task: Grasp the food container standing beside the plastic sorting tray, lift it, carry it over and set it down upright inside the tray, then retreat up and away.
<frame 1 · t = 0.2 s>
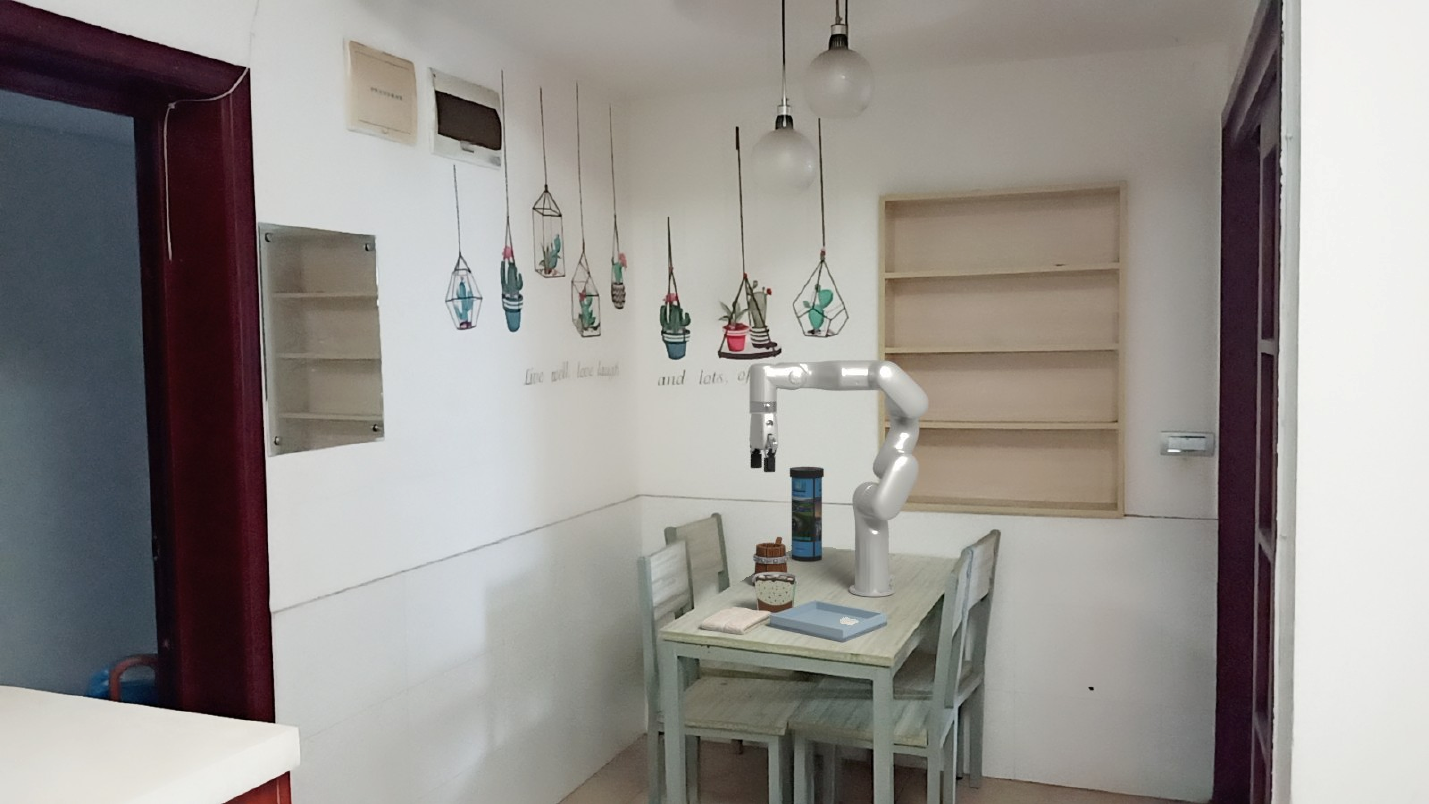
hand: (762, 470, 292), 36 cm above the table, tool pointing down, fingers open, 9 cm apart
mug: (772, 584, 316), on the table
washcloth: (737, 626, 270), on the table
sorting tray: (828, 626, 268), on the table
food container: (777, 611, 283), on the table
advertising column: (806, 559, 351), on the table
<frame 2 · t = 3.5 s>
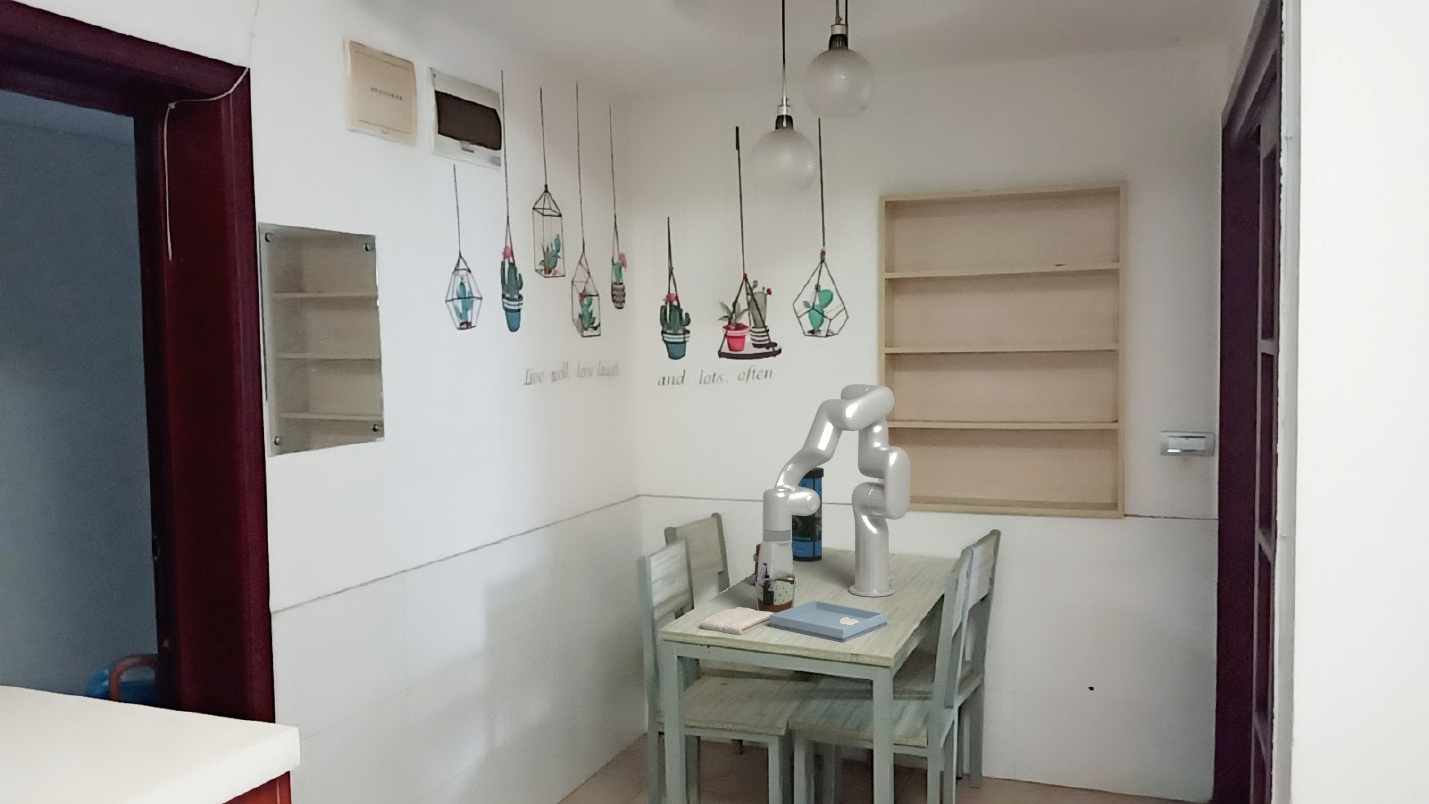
hand: (776, 602, 282), 2 cm above the table, tool pointing down, fingers closed on food container, 6 cm apart
food container: (778, 611, 283), on the table, touching gripper
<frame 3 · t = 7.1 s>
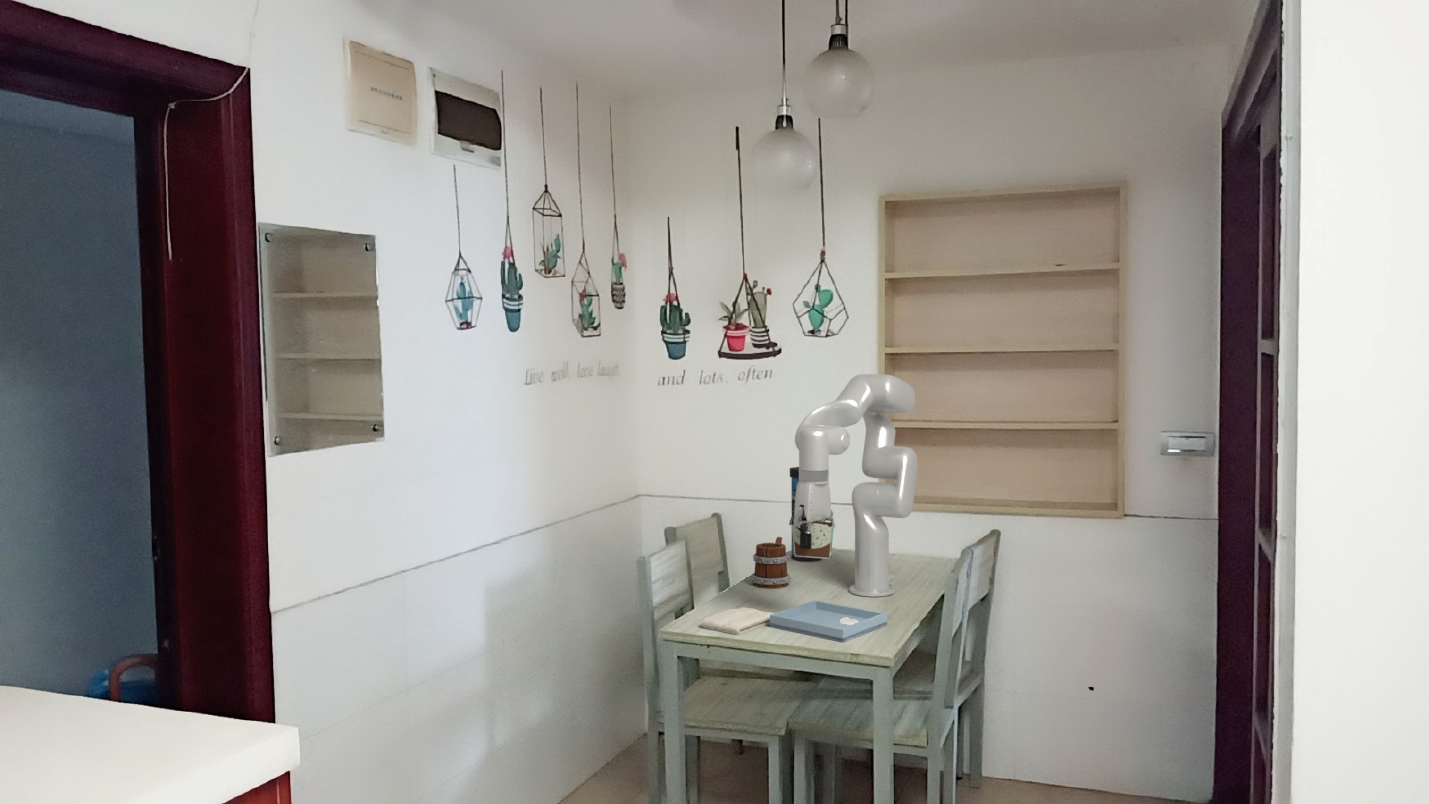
hand: (813, 546, 271), 20 cm above the table, tool pointing down, fingers closed on food container, 6 cm apart
food container: (815, 556, 271), point 17 cm above the table, touching gripper
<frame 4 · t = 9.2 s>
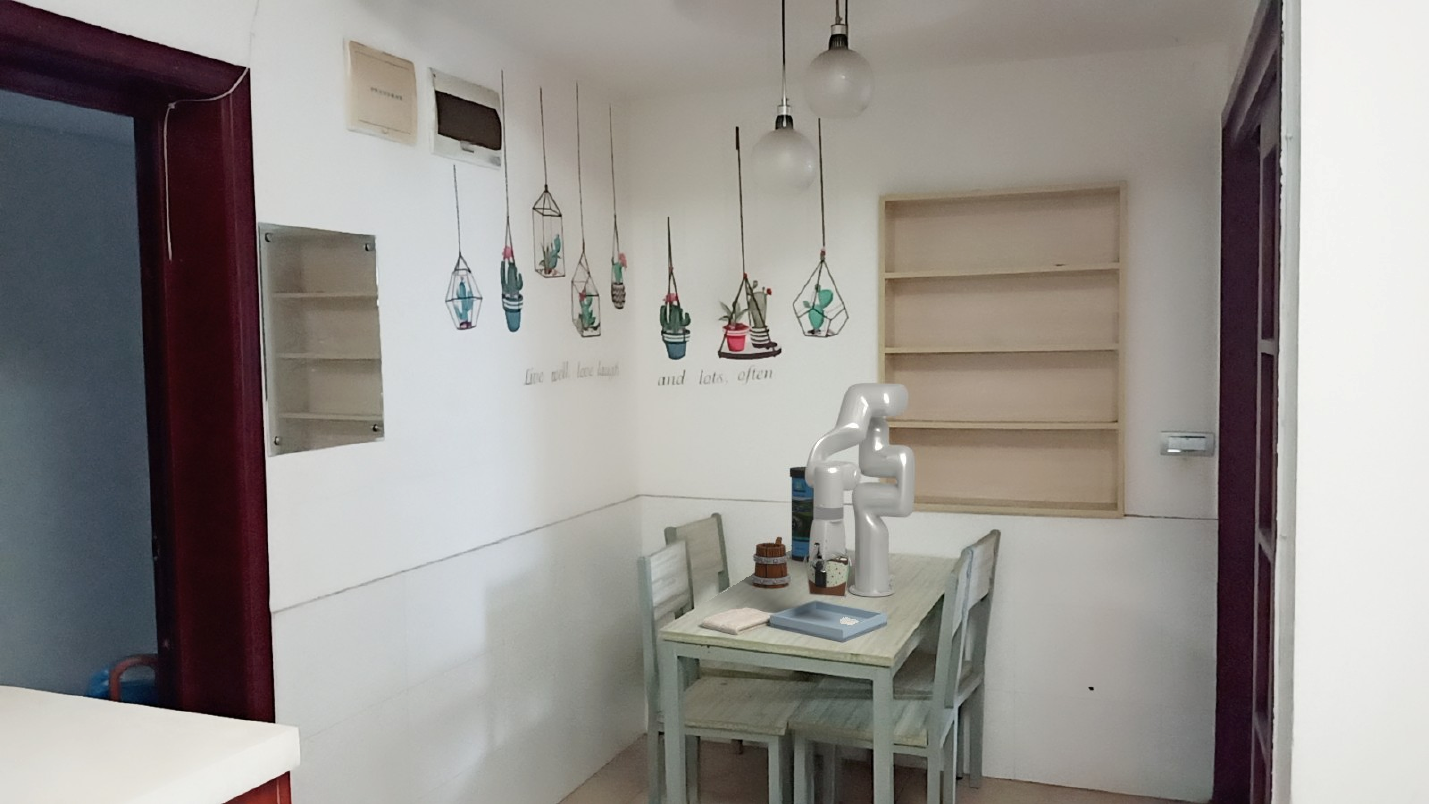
hand: (828, 584, 267), 11 cm above the table, tool pointing down, fingers closed on food container, 6 cm apart
food container: (830, 594, 268), point 8 cm above the table, touching gripper
when the fingers open (5 cm above the table, at t = 10.8 s): food container drops 1 cm, resting on sorting tray.
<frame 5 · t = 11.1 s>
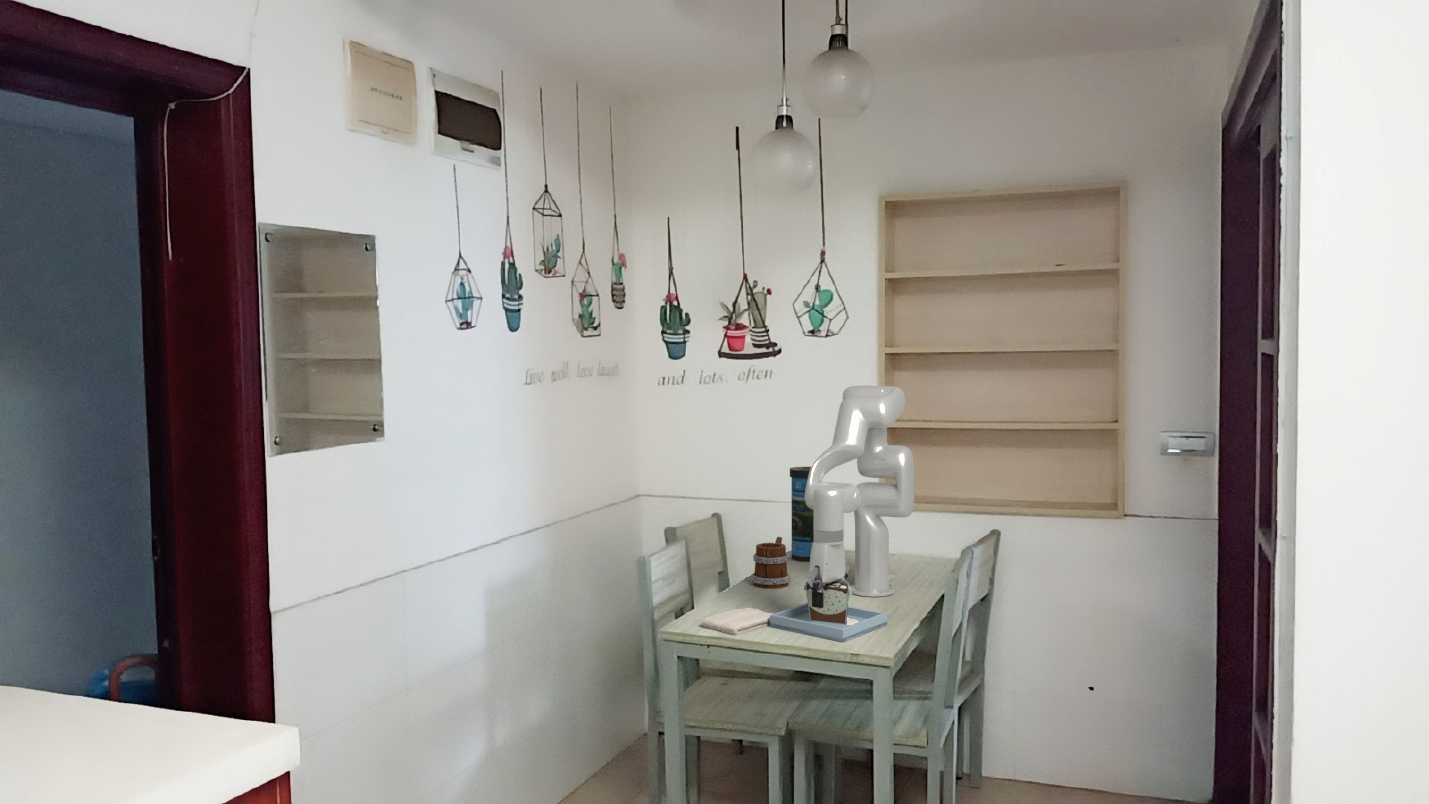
hand: (828, 603, 267), 6 cm above the table, tool pointing down, fingers open, 9 cm apart
food container: (831, 619, 269), point 1 cm above the table, touching sorting tray
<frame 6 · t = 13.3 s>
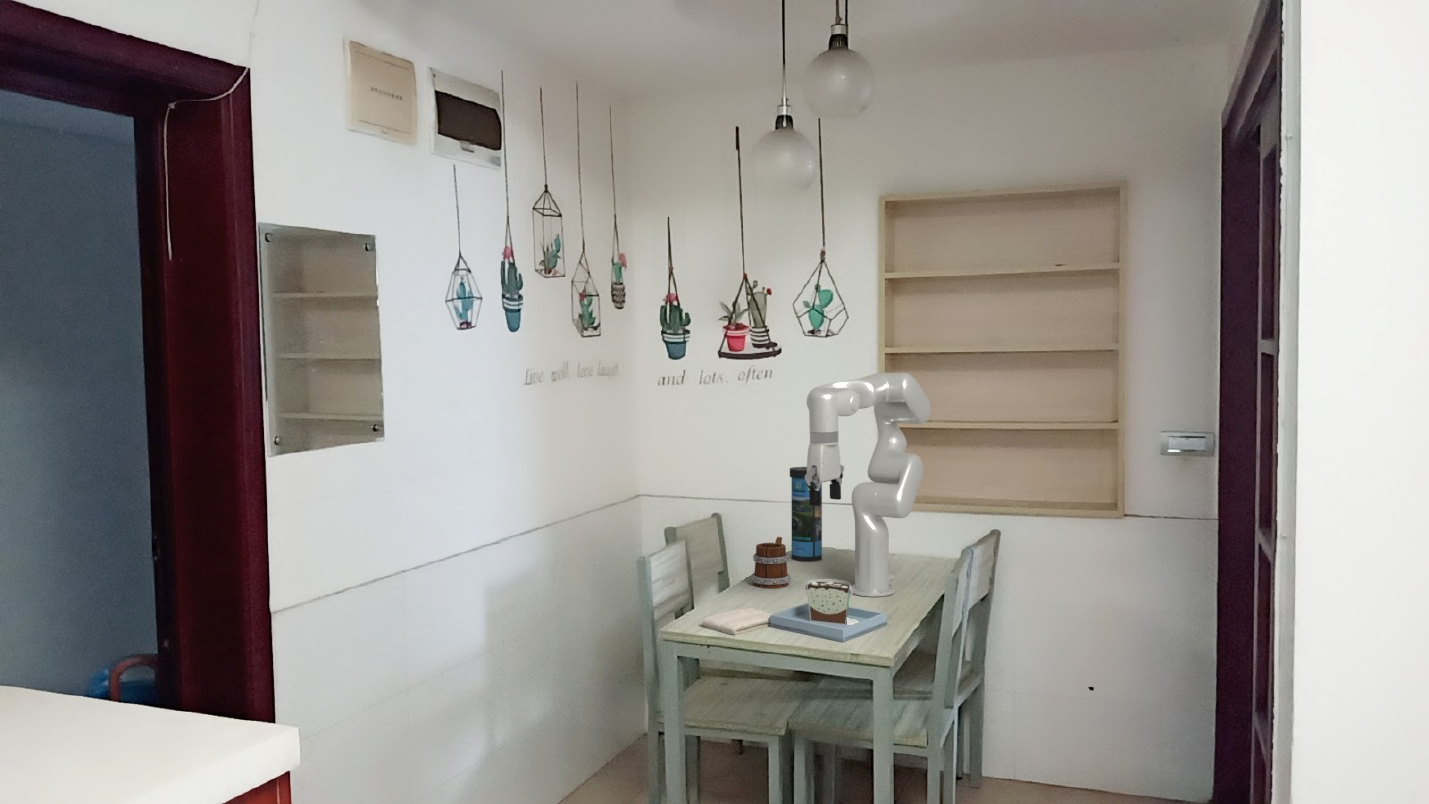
hand: (825, 502, 280), 29 cm above the table, tool pointing down, fingers open, 9 cm apart
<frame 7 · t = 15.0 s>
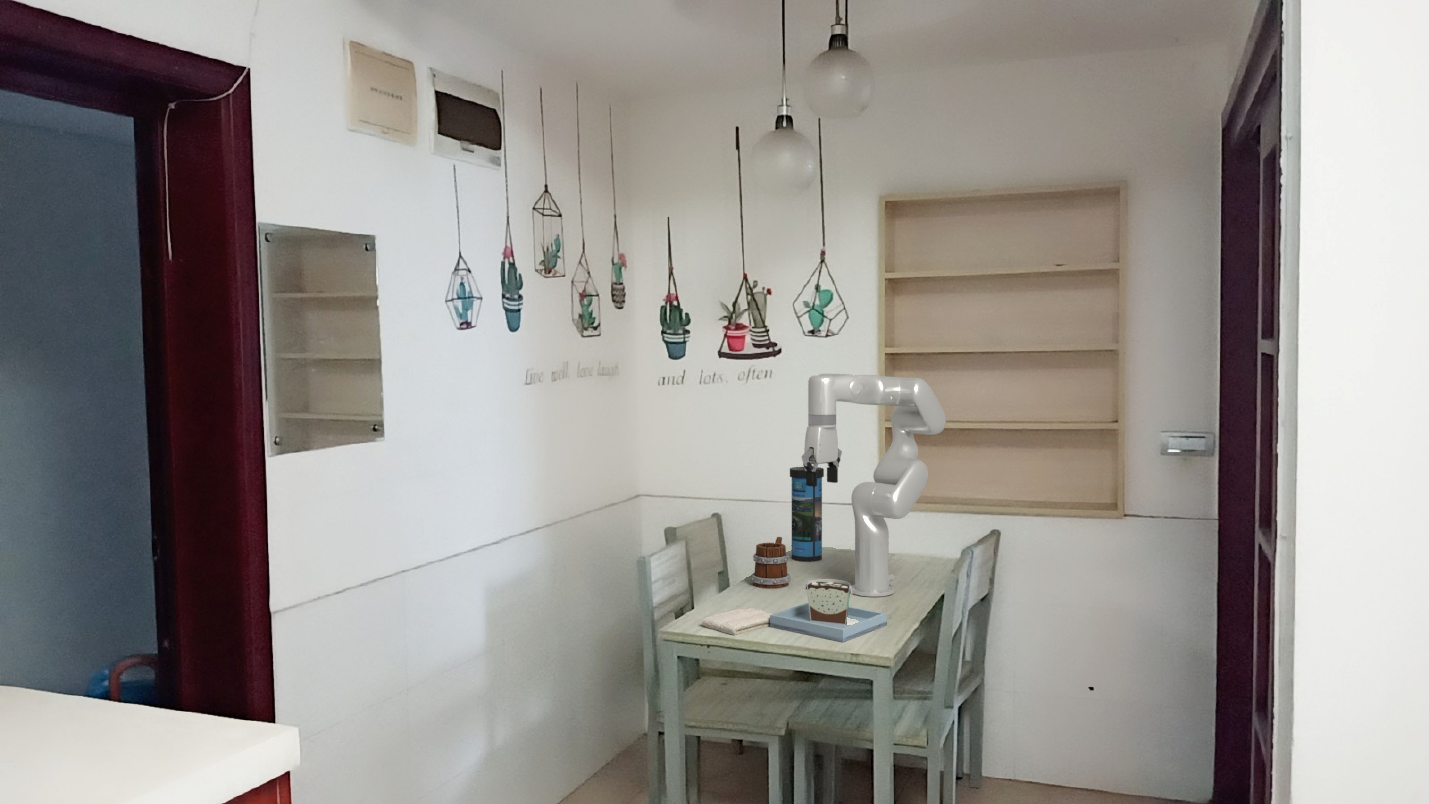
hand: (822, 484, 286), 33 cm above the table, tool pointing down, fingers open, 9 cm apart
at the end: food container inside the target area on the sorting tray (2.0 cm from its centre), point 0.8 cm above the sorting tray's base; food container tilted 0°; the gripper is holding nothing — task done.
